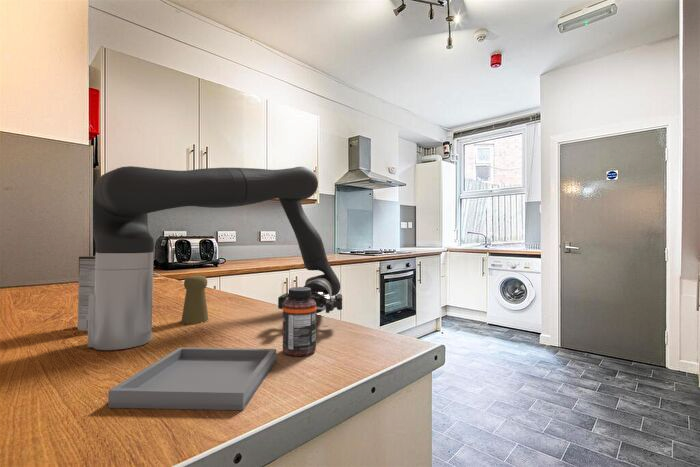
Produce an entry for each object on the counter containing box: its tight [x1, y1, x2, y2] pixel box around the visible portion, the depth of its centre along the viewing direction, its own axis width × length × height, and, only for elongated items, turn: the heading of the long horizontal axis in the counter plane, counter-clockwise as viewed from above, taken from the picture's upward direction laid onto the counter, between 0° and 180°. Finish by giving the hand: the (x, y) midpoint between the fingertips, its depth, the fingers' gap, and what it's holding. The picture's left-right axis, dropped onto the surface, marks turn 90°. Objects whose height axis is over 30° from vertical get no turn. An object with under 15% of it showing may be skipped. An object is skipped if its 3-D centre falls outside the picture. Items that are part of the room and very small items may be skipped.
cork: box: [180, 274, 209, 325], centre depth 82 cm, size 6×6×11 cm
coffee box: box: [77, 255, 95, 332], centre depth 76 cm, size 9×6×16 cm
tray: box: [107, 346, 277, 411], centre depth 47 cm, size 16×16×2 cm
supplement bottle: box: [282, 286, 317, 357], centre depth 60 cm, size 6×6×11 cm
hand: (306, 307), depth 69 cm, fingers open, 8 cm apart
